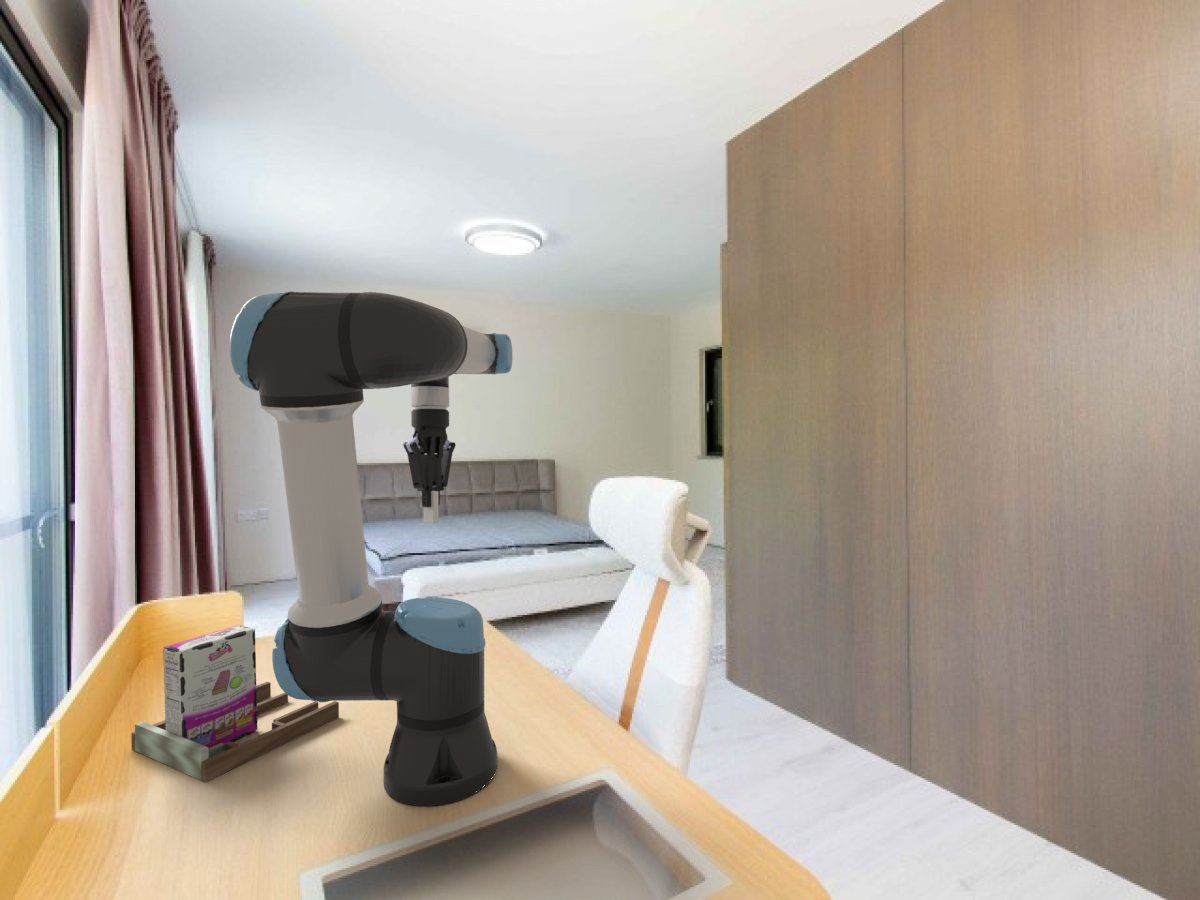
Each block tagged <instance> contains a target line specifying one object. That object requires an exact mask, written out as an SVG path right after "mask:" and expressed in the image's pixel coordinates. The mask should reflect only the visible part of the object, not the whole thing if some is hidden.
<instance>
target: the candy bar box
mask: <svg viewBox="0 0 1200 900" xmlns="http://www.w3.org/2000/svg"><path fill="white" fill-rule="evenodd" d="M162 649H163V652H162V653H163V654H162V655H163V685H164V687H163V688H164V692H163V693H164V716H165V717H164V720H165V728H166V731H168V732H171V733H173V734H176V735H178V736H181V737H183V738H186V739H188V740H191V741H193V742H196V743H198V744H201V745H203V746H206V747H208V748H210V747H213V746H215V745H217V744H220V743H224V744H226V743H228V742H230V741H231V742H233V743H234V742H235V741H237V740H239V739H241V738H243V737H245V736H247V735H250V734H251V733H253V732H257V730H258V715H257V704H258V702H257V692H256V689H257V688H256V686H257V662H256V660H257V659H256V658H257V657H256V628H253V627H248V626H242V625H233V626H231V627H227V628H225V629H220V630H216V631H214V632H210V633H207V634H203V635H200V636H197V637H194V638H188V639H186V640H183V641H179V642H177V643H173V644H169V645H166V646H163V647H162Z"/></svg>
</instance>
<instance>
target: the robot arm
mask: <svg viewBox="0 0 1200 900" xmlns="http://www.w3.org/2000/svg"><path fill="white" fill-rule="evenodd" d="M229 339H230V340H229V355H230V362H231V365H232V369H233V371H234V373H235V374H236V375H237V376H238V380H239V382H241V383H242V385H244V386H245V387H246V388H248V389H251V390H253V391H254V392H258V394H259V400H260V406H261V407H260V408H261V409H262V410H264V411H265V412H267V413H268V414H270V416H272V417H273V418H274V420H275V421H277V429H278V437H279V438H278V439H279V447H280V455H281V464H282V470H283V480H284V487H285V488H284V489H285V495H286V503H287V511H288V519H289V526H290V527H289V529H290V534H291V535H290V536H291V543H292V552H293V553H292V554H293V560H294V568H295V576H296V583H297V584H296V585H297V592H298V593H297V594H298V598H297V600H295V602H293V603H292V605H291V606H290V607H289V609H288V611H287V616H286V617H285V618H284V619H283V621H281V623H279V624H280V625H279V626H278V628H277V631H276V633H275V634H274V640H273V641H274V643H275V647H273V648H272V654H271V655H272V656H271V657H272V658H271V660H272V661H271V662H272V669H273V674H274V677H275V679H276V681H277V684H278V686H279V688H281V690H282V691H283V693H286V694H287V695H288V697H290V698H293V699H295V700H301V701H303V700H305V701H312V702H315V701H316V702H318V703H328V702H334V701H336V702H338V701H339V702H342V701H344V702H346V701H348V702H349V701H351V702H352V701H354V702H355V701H356V702H357V701H394V702H396V725H395V728H394V731H393V735H392V738H391V741H390V745H389V748H388V749H389V750H388V754H387V755H386V758H385V760H384V763H383V787H384V790H385V792H386V793H387V795H388V796H390V797H391V798H392V799H394V800H395V801H398V802H400V803H404V804H407V805H413V806H421V807H422V806H423V807H424V806H437V805H445V804H450V803H453V801H454V802H458V801H460V799H461V800H463V799H466V798H468V797H470V796H473V795H475V794H476V793H477V792H476V791H478V790H479V789H481V788H482V787H483V786H484V785H486V784H487V783H488V782H489V781H490V780H491V778H492V777H493V775H494V774H495V772H496V769H497V770H498V748H497V745H496V743H495V740H494V739H493V737H492V733H491V730H490V726H489V723H488V719H487V716H486V714H485V713H486V712H485V648H486V639H485V632H484V631H485V630H484V620H483V616H482V614H481V612H480V611H479V610H478V609H477V607H475V606H473V605H472V604H469V603H467V602H465V601H463V600H462V601H461V600H458V599H454V598H449V597H438V596H437V597H436V596H425V598H424V597H423V598H421V597H415V598H410V599H406V600H404V601H402V602H400V603H399V604H398V606H397V608H396V609H395V610H393V611H392V610H384V607H383V599H382V593H381V592H380V590H378V589H377V588H375V587H374V586H372V585H370V584H369V576H368V566H367V565H368V563H367V554H366V545H365V535H364V534H365V533H364V523H363V522H364V521H363V513H362V512H363V510H362V501H361V491H360V481H359V471H358V462H357V461H358V459H357V449H356V441H355V440H356V438H355V437H356V436H355V428H354V417H353V415H354V413H355V412H356V411H357V409H359V408H360V406H361V405H362V404H363V403H364V398H365V397H364V390H374V389H377V390H380V389H390V388H398V387H404V386H409V385H410V386H411V400H410V401H411V407H413V408H414V409H412V410H411V413H410V415H411V420H410V421H411V422H410V423H411V427H412V428H414V430H413V434H412V439H411V440H410V441H405V442H404V443H403V445H402V446H403V448H404V451H405V453H406V454H407V460H408V464H409V465H408V466H409V470H410V474H411V480H412V487H413V489H417V491H418V492H421V507H422V508H423V524H424V523H425V524H439V517H440V516H439V507H440V504H441V501H440V500H441V499H440V498H441V491H442V492H443V491H444V490H445V488H446V487H448V485H449V484H448V482H449V477H450V471H451V464H452V458H453V453H454V452H455V451H454V450H455V448H456V442H454V441H452V442H451V441H450V440H449V439H448V434H447V428H449V427H450V411H449V409H447V408H449V407H450V386H449V385H450V384H449V383H450V378H449V377H450V376H453V375H458V374H459V375H462V374H463V375H466V374H467V375H497V374H500V375H501V374H509V372H510V371H511V369H512V367H513V345H512V340H511V338H510V336H509V335H508V334H507V333H496V332H494V333H482V332H479V331H477V330H474V329H471V328H469V327H466V326H463V324H462V323H461V322H460V321H459V320H458V319H457V318H456V317H455V316H454V315H452V314H451V313H449V312H447V311H445V310H443V309H441V308H438V307H436V306H433V305H430V304H427V303H424V302H420V301H419V300H414V299H411V298H408V297H405V296H401V295H395V294H390V293H384V292H373V291H363V292H318V291H317V292H314V291H313V292H311V291H310V292H305V291H297V292H296V291H291V290H290V291H284V292H277V293H265V294H259V295H256V296H254V297H252V298H250V299H249V300H248V301H247V302H246V303H244V305H243V306H242V307H241V309H240V312H238V314H237V315H236V317H235V319H234V322H233V325H232V328H231V332H230V338H229ZM496 773H497V772H496ZM495 775H496V774H495ZM491 781H492V780H491ZM491 781H490V782H491ZM487 785H488V784H487ZM487 785H486V786H487ZM481 790H482V789H481ZM475 792H476V793H475ZM478 792H479V791H478ZM472 794H473V795H472ZM457 800H458V801H457ZM449 802H450V803H449Z"/></svg>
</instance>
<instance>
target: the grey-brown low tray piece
mask: <svg viewBox="0 0 1200 900" xmlns="http://www.w3.org/2000/svg"><path fill="white" fill-rule="evenodd" d="M271 684H272V683H271V682H269V681H265V682H263V683H260V684H256V688H257V689H256V692H257V716H258V715H260V714H262V713H265V712H267V711H271V710H272V709H274V708H278V707H279V706H281V705H284V704H286V703H289V695H287V694H286V693H285V692H283V693H280V694H278V695H276V696H273V697H271V696H272V695H271V693H272V692H271ZM265 699H266V700H265ZM339 703H340V701H339V702H338V701H331V702H330V703H327V704H325V705H323V706H320V707H319V702H318V701H312V702H311V703H308V704H305V705H303V706H301V707H299V708H297V709H294V710H292V711H290V712H288V713H285V714H284V715H281V716H278V717H277V718H275V719H273V722H271V730H268V731H266V732H264V733H262V734H260V735H257V736H255V737H252V738H251V739H248V740H246V741H244V742H241V743H240V744H239V743H235V742H234V741H233V742H231V741H230V742H228V743H226V744H224V743H220V744H217V745H215V746H213V747H210V748H208V747H206V746H203V745H201V744H198V743H196V742H193V741H191V740H188V739H186V738H183V737H181V736H178V735H176V734H173V733H171V732H168V731H166V728H165V719H164V720H162V721H158V722H157V723H153V724H151V723H148V722H145V721H143V720H142V721H139V722H136V723H134V731H133V732H131V734H130V735H131V750H132V751H134V752H137V753H139V754H141V755H143V756H146V757H148V758H150V759H153V760H155V761H157V762H159V763H162V764H163V765H165V766H168V767H171V768H172V769H175V770H176V771H179V772H181V773H183V774H186V775H189V776H190V777H192V778H194V779H197V780H199V781H201V782H204V783H207V782H209V781H211V780H213V779H215V778H217V777H219V776H222V775H223V774H225V773H227V772H230V771H232V770H233V769H236V768H237V767H240V766H242V765H244V764H245V763H248V762H251V761H252V760H254V759H257V758H258V757H260V756H263V755H264V754H267V753H269V752H271V751H272V750H275V749H277V748H279V747H281V746H283V745H285V744H287V743H289V742H291V741H293V740H295V739H297V738H299V737H301V736H303V735H305V734H307V733H310V732H312V731H314V730H316V729H318V728H319V727H321V726H325V725H326V724H328V723H330V722H332V721H334V720H336V719H338V718H339V717H340V710H339V709H340V707H339V706H340V704H339Z"/></svg>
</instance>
